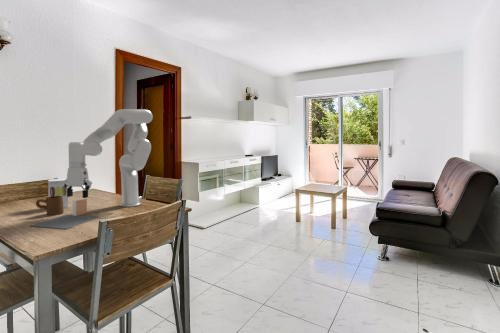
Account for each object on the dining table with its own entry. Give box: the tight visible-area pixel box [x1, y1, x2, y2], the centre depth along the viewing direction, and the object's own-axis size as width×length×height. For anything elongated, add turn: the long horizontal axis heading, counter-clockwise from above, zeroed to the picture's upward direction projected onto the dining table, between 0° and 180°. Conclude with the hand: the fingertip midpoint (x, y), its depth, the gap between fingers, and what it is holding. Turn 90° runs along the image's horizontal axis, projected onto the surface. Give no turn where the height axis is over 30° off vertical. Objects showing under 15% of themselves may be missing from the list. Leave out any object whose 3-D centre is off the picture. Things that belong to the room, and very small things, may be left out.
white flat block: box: [72, 198, 88, 216], centre depth 154 cm, size 7×2×8 cm, turn 168°
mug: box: [35, 196, 64, 216], centre depth 153 cm, size 12×8×9 cm, turn 130°
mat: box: [29, 214, 99, 230], centre depth 140 cm, size 20×20×1 cm
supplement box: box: [47, 178, 69, 209], centre depth 169 cm, size 10×9×17 cm
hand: (77, 197), depth 152 cm, fingers open, 9 cm apart
